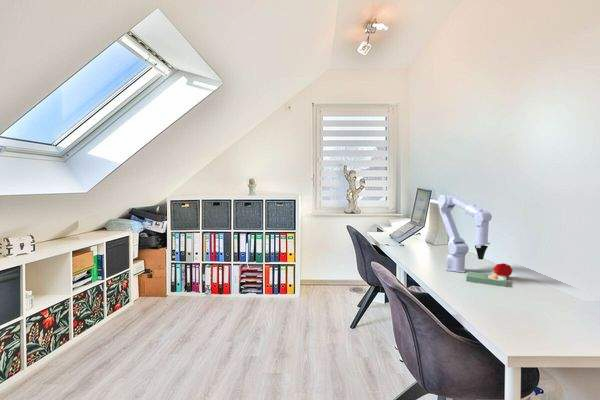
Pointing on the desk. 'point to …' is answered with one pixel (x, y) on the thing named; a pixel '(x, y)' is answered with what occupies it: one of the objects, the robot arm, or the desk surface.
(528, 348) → the desk surface
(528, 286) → the desk surface
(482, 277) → the green flat board
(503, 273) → the gemstone
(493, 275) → the ball
